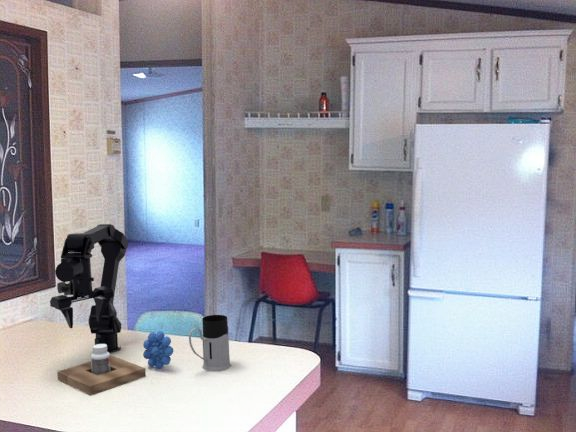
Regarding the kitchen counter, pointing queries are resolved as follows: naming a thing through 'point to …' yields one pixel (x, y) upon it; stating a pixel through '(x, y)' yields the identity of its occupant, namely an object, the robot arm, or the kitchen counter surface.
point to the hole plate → (101, 376)
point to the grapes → (157, 350)
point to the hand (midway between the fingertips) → (84, 324)
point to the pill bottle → (100, 360)
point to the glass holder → (214, 343)
